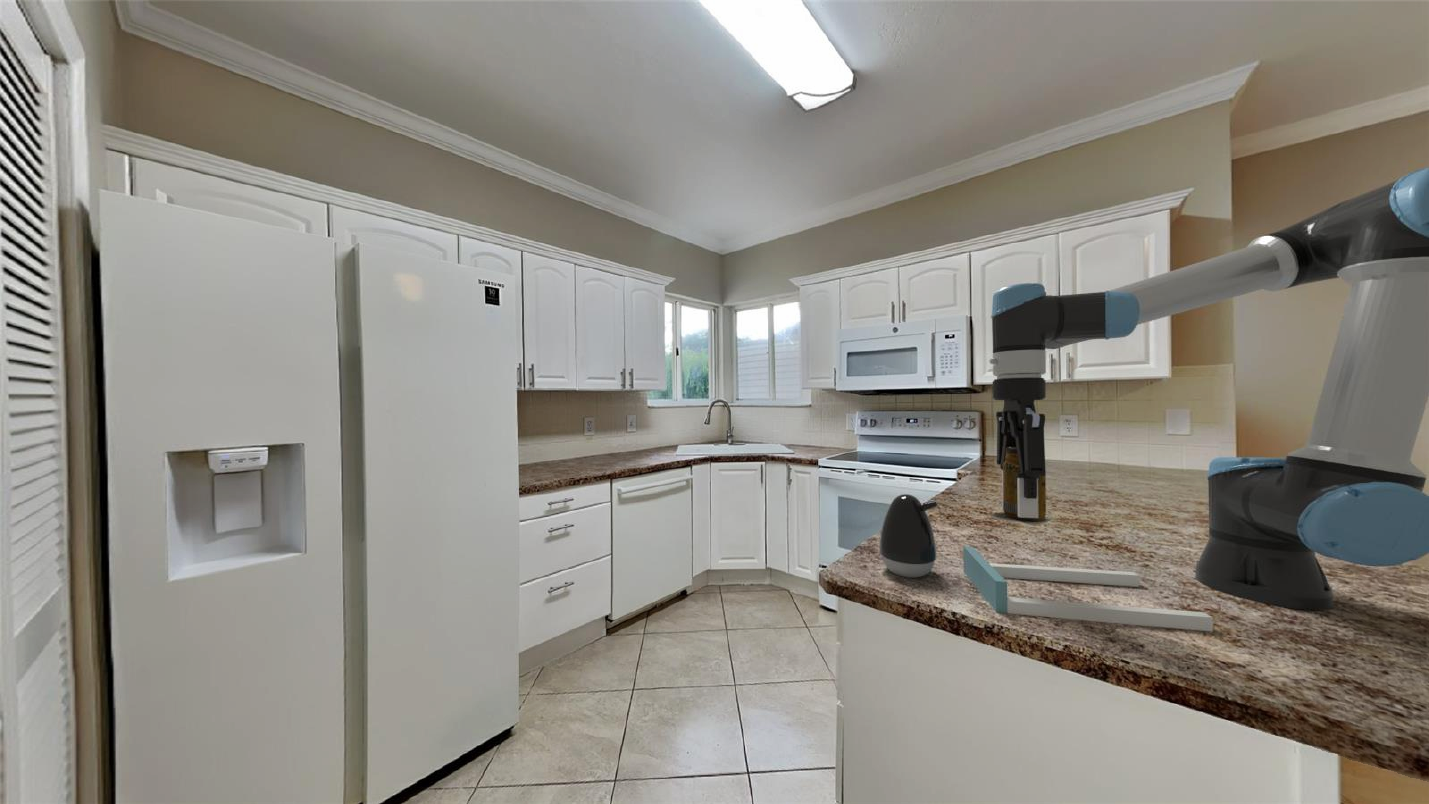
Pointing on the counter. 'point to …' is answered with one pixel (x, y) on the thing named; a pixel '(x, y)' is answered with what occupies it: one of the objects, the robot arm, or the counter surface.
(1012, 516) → the condiment
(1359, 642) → the counter surface
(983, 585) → the guide
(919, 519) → the pump dispenser
